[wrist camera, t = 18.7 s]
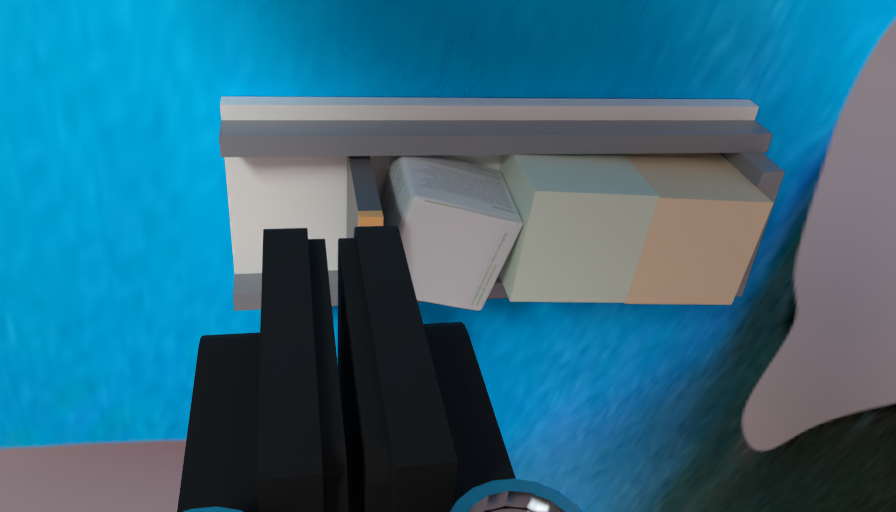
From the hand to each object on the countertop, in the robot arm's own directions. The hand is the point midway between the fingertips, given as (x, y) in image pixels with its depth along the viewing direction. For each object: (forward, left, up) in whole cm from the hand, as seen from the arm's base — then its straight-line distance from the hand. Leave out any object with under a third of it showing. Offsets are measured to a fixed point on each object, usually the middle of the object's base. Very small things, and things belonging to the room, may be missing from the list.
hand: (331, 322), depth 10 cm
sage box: (+13, -12, -26) cm, 32 cm away
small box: (+7, -13, -26) cm, 30 cm away
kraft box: (+19, -13, -26) cm, 35 cm away
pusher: (+3, -13, -26) cm, 29 cm away
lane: (+10, -13, -27) cm, 32 cm away
